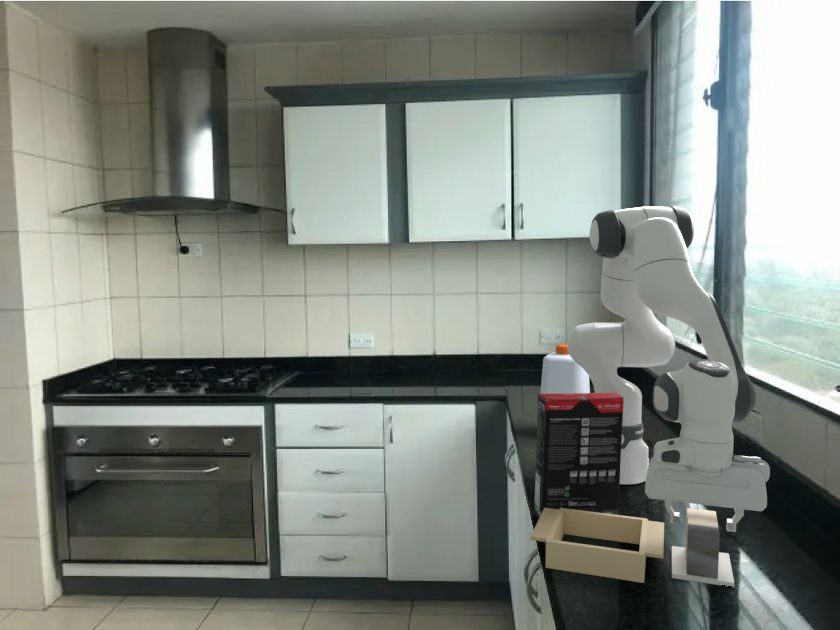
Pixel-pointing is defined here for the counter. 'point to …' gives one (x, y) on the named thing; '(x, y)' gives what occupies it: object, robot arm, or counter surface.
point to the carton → (598, 557)
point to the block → (702, 543)
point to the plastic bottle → (563, 374)
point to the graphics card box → (578, 452)
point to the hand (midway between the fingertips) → (702, 526)
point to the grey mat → (681, 573)
